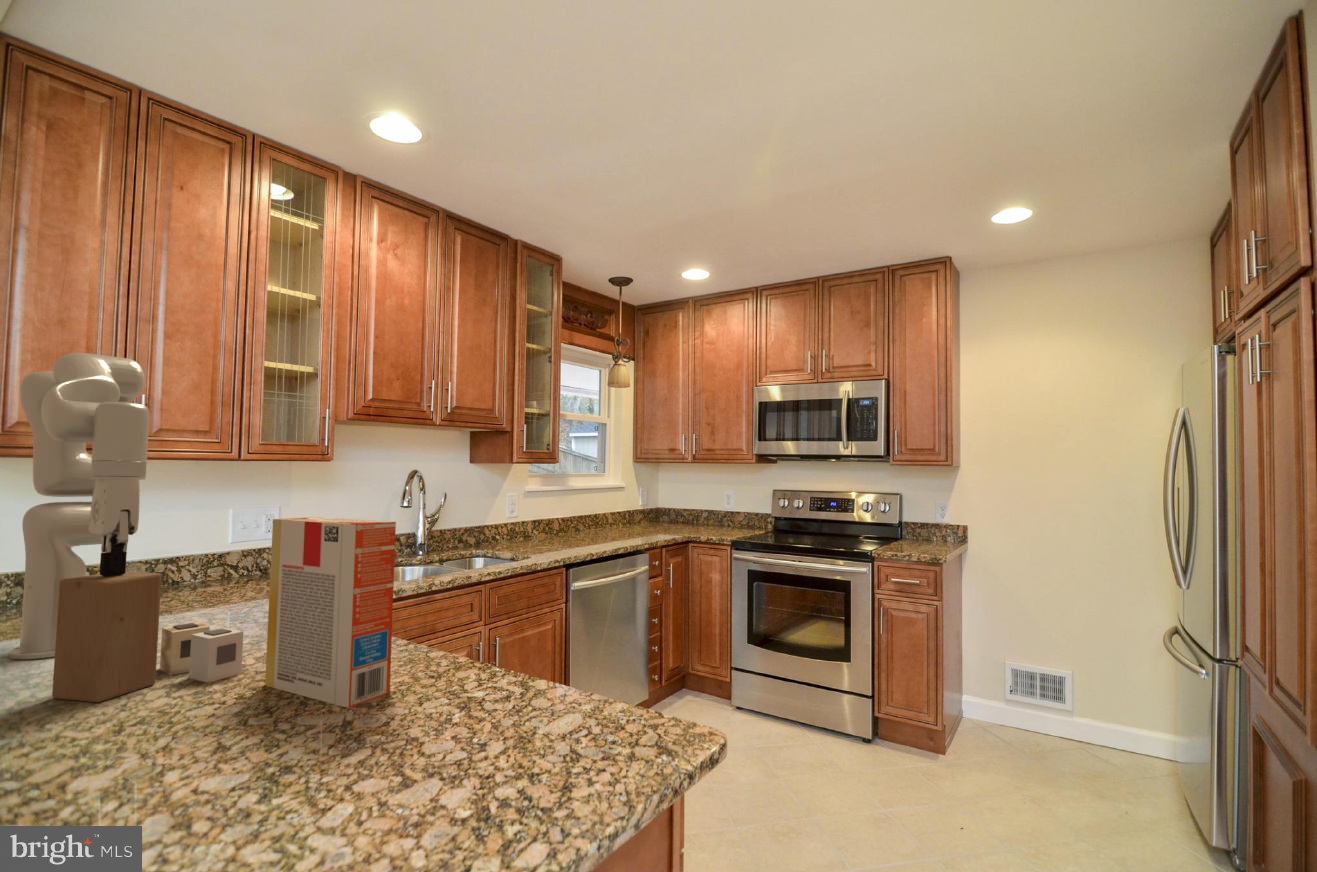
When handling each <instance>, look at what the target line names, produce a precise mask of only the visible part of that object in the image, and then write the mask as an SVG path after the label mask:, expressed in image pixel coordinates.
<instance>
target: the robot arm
mask: <svg viewBox="0 0 1317 872" xmlns="http://www.w3.org/2000/svg"><path fill="white" fill-rule="evenodd" d="M145 378H146V377H145V373H144V369H143V368H142V366H141V364H139V363H138V362H137V361H136V360H133V359H131V358H126V357H117V356H111V355H104V354H95V353H88V352H87V353H85V352H71V353H67V354H65V355H62V356H61V357H59V358H58V359H57V360H56V361H55V362H54V364H53V367H52V370H43V371H35V372H31V373H28V374H27V375H25V376H24V378H23V379H22V380H21V383H20V401H21V407H22V409H23V413H24V414H25V415H24V416H25V418H26V420H27V423H28V425H29V427H30V429H31V432H32V433H31V434H32V436H33V437H32V438H33V439H32V442H33V443H32V445H33V447H32V449H33V450H32V451H33V452H32V481H33V487H34V491H36V492H37V493H38V494H39V495H41V496H45V497H53V498H54V497H56V498H60V497H61V498H65V497H66V498H68V497H69V498H76V497H78V498H79V497H83V498H84V497H86V498H87V497H91V501H56V502H55V501H53V502H45V503H40V504H37V505H35V506H32V507H30V508H28V510H26V512H25V513H24V514H23V517H22V523H21V524H22V534H23V535H22V536H23V540H24V541H23V542H24V551H25V564H24V565H25V567H24V568H25V569H24V580H23V581H24V583H23V585H24V586H23V598H22V599H23V600H22V612H21V625H20V639H19V646H18V647H14V648H12V649H10V650H9V651H8V658H10V659H12V660H36V659H37V660H39V659H46V658H55V646H56V631H57V617H58V602H59V587H60V581H61V580H63V579H67V578H74V577H82V576H87V566H86V565H87V564H85V561H84V560H83V559H82V558H81V557H80V556H79V555H78V554H76V552H74V551H73V549H72V548H74V547H80V546H90V545H91V546H93V545H100V547H101V549H100V550H101V552H100V562H99V563H100V564H99V574H100V575H102V576H114V575H123V574H125V572H127V571H126V568H127V553H128V552H127V551H128V543H129V535H130V536H133V535H134V534H136V533H138V532H137V531H138V529H139V522H140V521H139V520H140V498H141V497H140V493H141V492H140V491H141V490H140V480H146V479H147V478H146V476H147V461H148V448H149V447H148V445H149V444H148V443H149V430H150V429H149V428H150V410H149V408H148V407H147V406H146V405H144V404H142V403H141V404H140V403H135V402H134V401H136V399H137V398H138V397H139V396H140V395H141V393H142V391H143V389H144V386H145ZM87 444H92V451H91V453H88V451H87Z"/></svg>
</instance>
